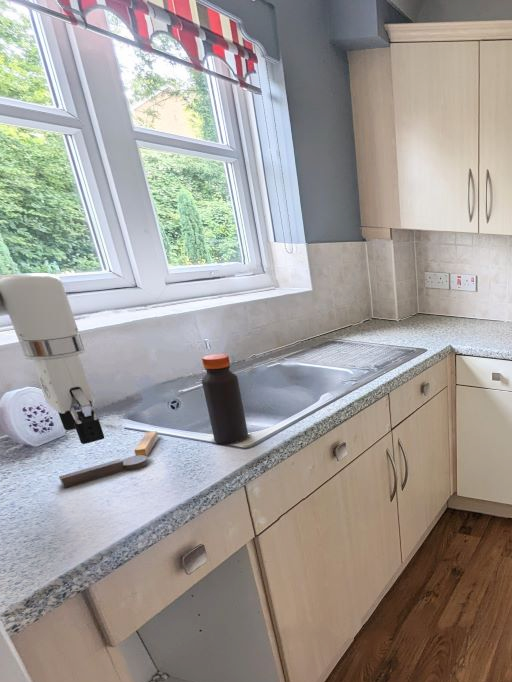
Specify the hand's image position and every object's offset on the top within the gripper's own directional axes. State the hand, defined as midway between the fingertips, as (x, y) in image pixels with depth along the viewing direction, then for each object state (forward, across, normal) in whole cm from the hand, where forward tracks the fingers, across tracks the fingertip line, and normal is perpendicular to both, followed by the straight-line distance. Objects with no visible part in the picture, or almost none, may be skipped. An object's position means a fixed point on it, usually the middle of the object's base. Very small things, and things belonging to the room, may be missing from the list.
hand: (84, 434), depth 86 cm
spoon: (+9, 0, +1) cm, 9 cm away
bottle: (+10, +1, +24) cm, 26 cm away
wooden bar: (+9, -8, +10) cm, 16 cm away
